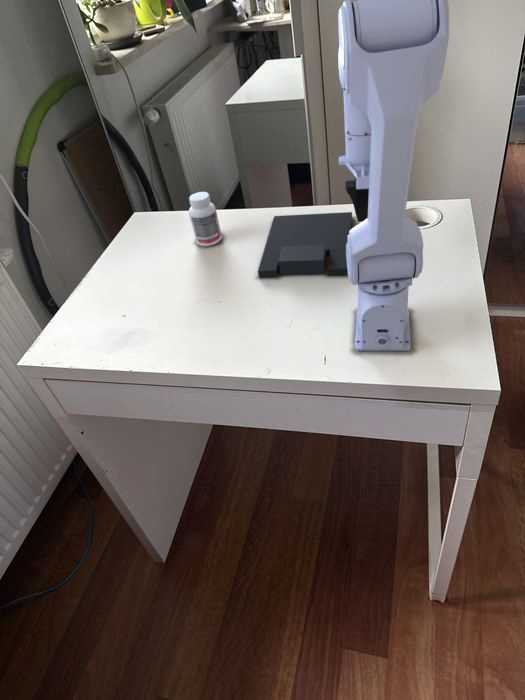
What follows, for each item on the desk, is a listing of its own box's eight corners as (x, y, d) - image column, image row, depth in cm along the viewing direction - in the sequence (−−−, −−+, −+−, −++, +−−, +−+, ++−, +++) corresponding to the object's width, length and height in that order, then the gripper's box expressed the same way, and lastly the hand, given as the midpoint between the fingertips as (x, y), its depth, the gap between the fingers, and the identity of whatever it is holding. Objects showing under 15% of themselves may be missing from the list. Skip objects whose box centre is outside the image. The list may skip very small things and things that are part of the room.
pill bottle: (226, 239, 107) (217, 195, 101) (204, 250, 105) (193, 205, 99) (213, 230, 111) (203, 187, 104) (192, 240, 109) (180, 197, 102)
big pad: (347, 275, 92) (347, 268, 91) (259, 277, 95) (257, 271, 94) (352, 218, 106) (352, 211, 105) (275, 222, 110) (274, 215, 109)
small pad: (324, 274, 93) (323, 260, 91) (280, 275, 95) (278, 261, 93) (326, 258, 97) (325, 244, 95) (284, 260, 98) (282, 246, 96)
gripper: (340, 114, 86) (343, 191, 95) (334, 150, 76) (338, 232, 85) (383, 110, 85) (383, 188, 94) (384, 146, 74) (383, 230, 83)
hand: (364, 209), depth 89 cm, fingers open, 7 cm apart
